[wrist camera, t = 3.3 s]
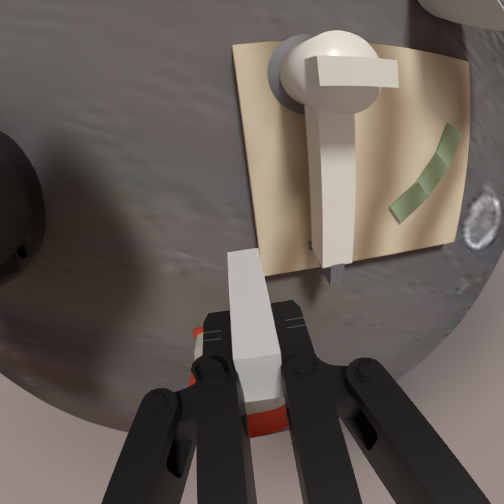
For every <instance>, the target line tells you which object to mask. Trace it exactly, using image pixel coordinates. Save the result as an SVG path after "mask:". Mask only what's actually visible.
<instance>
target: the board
mask: <svg viewBox="0 0 504 504" xmlns="http://www.w3.org/2000/svg"><path fill="white" fill-rule="evenodd" d="M315 36H317V35H315V34H300V35H296V36H293V37H290V38H288V39H286V40H285V41H275V42H260V43H249V44H239V45H232V55H233V63H234V70H235V77H236V84H237V92H238V99H239V106H240V114H241V121H242V129H243V136H244V144H245V151H246V159H247V166H248V174H249V181H250V189H251V197H252V204H253V212H254V220H255V227H256V235H257V243H258V249H259V254H260V259H261V263H262V268H263V273H264V276H269V275H275V274H281V273H287V272H293V271H299V270H305V269H311V268H317V267H320V265H319V260H318V258H317V256H316V254H315V252H314V251H313V249H312V231H311V201H310V179H309V162H308V146H307V132H306V120H305V108H304V105H303V104H301V103H299V102H297V101H295V100H294V99H292V98H291V97H290V96H289V95H288V94H287V92H286V91H285V90H284V88H283V86H282V84H281V81H280V75H279V70H280V64H281V61H282V59H283V57H284V55H285V54H286V53H287V52H288V51H289V50H290V49H291V48H293V47H294V46H296V45H298V44H300V43H303V42H305V41H307V40H309V39H311V38H313V37H315ZM368 44H369V45H370V46H371V47H372V48H373V49H374V51H375V52H376V54H377V55H378V57H379V58H381V59H391V60H397V66H398V81H399V88H393V87H382V88H381V91H380V94H379V96H378V97H377V99H376V100H375V102H374V103H373V104H372V105H371V106H369V107H368V108H367V109H365V110H363V111H361V112H359V113H355V114H354V116H355V148H356V190H355V222H354V242H353V257H352V261H357V260H362V259H368V258H373V257H379V256H384V255H389V254H395V253H400V252H405V251H410V250H416V249H421V248H426V247H431V246H436V245H441V244H446V243H451V242H454V240H455V236H456V231H457V226H458V221H459V216H460V210H461V205H462V199H463V192H464V185H465V178H466V169H467V160H468V148H469V133H470V71H469V62H467V61H464V60H460V59H456V58H452V57H448V56H444V55H440V54H435V53H430V52H425V51H420V50H415V49H409V48H403V47H396V46H388V45H380V44H371V43H368Z"/></svg>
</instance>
